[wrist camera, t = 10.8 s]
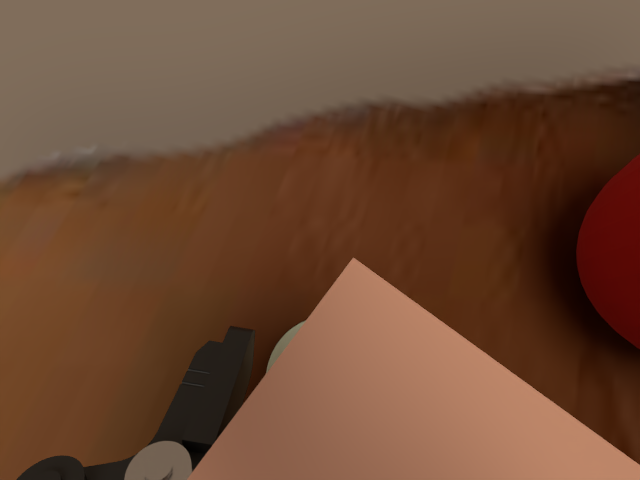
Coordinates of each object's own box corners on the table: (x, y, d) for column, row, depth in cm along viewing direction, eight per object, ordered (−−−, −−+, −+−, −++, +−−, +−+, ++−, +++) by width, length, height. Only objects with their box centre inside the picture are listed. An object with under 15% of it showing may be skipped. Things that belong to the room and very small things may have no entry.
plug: (315, 333, 18) (353, 257, 5) (399, 398, 17) (709, 515, 4) (249, 422, 17) (59, 647, 4) (337, 497, 16) (505, 1119, 3)
